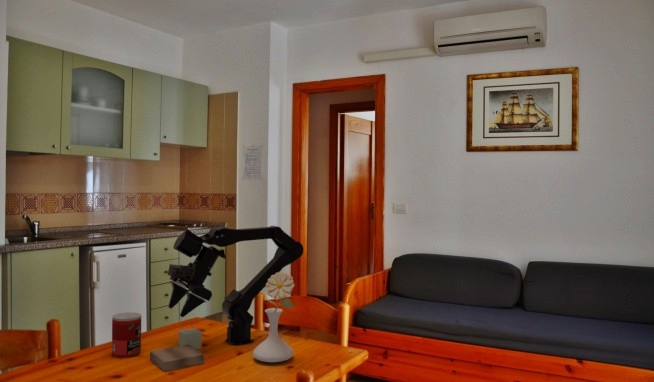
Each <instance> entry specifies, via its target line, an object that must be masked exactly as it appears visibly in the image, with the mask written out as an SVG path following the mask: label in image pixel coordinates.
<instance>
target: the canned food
mask: <svg viewBox="0 0 654 382" xmlns="http://www.w3.org/2000/svg"><path fill="white" fill-rule="evenodd" d="M111 318H112V319H111V321H112V322H111V353H112V356H113V357H115V358H119V357H121V359H124V358H125V357H127V358H132V357H135V356H138V355H140V353H141V351H142V314H141V313H138V312H131V311H130V312H121V313H120V312H119V313H116V314H114V315H113V316H112V317H111Z"/></svg>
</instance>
